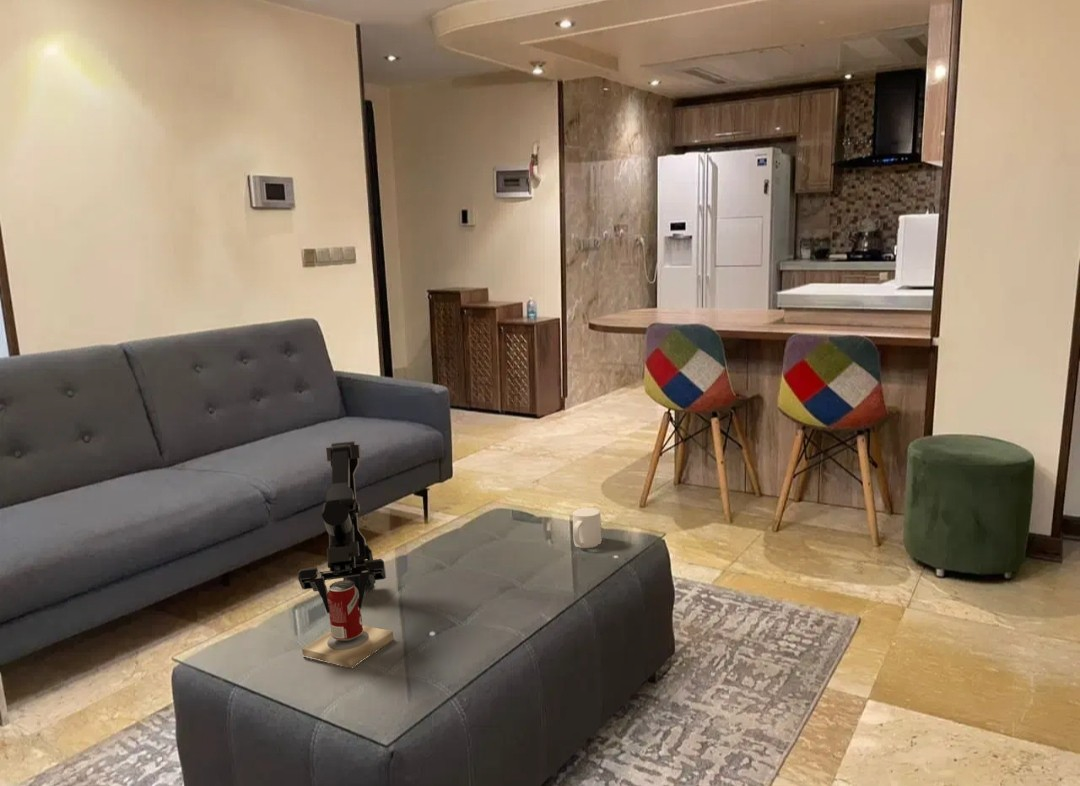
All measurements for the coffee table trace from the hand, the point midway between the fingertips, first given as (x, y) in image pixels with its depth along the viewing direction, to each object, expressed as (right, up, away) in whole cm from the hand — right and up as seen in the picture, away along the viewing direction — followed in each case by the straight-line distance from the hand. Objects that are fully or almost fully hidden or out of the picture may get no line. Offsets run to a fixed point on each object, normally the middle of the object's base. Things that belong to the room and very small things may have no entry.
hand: (344, 610), depth 177 cm
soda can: (0, -7, +2) cm, 7 cm away
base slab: (0, -9, +3) cm, 10 cm away
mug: (+57, +4, +57) cm, 81 cm away
